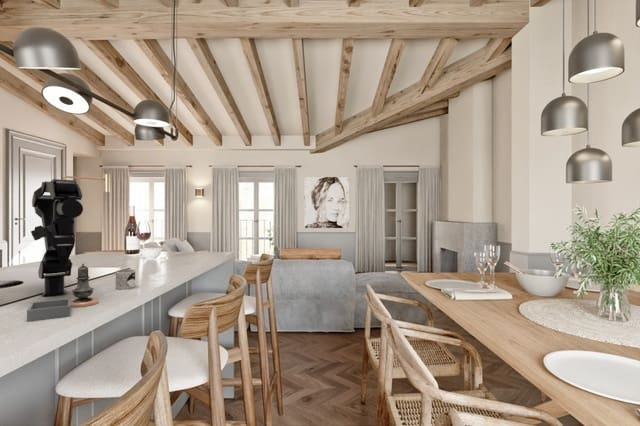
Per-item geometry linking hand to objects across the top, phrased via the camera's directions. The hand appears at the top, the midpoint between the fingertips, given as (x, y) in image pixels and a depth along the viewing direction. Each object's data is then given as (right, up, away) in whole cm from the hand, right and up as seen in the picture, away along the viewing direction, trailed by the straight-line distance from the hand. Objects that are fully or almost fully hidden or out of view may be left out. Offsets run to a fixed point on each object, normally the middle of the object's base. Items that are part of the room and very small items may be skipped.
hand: (63, 264), depth 120 cm
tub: (+7, -12, -16) cm, 21 cm away
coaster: (+9, -12, -4) cm, 16 cm away
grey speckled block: (+10, -12, +21) cm, 26 cm away
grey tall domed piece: (+9, -11, -4) cm, 15 cm away
